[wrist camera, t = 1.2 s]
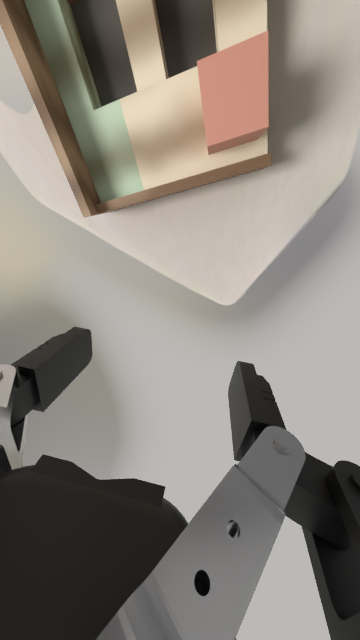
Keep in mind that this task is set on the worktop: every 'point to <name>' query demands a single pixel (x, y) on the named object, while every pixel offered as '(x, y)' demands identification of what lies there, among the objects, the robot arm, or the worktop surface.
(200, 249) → the worktop surface
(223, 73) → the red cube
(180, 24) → the box
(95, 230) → the worktop surface
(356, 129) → the worktop surface
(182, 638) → the robot arm
